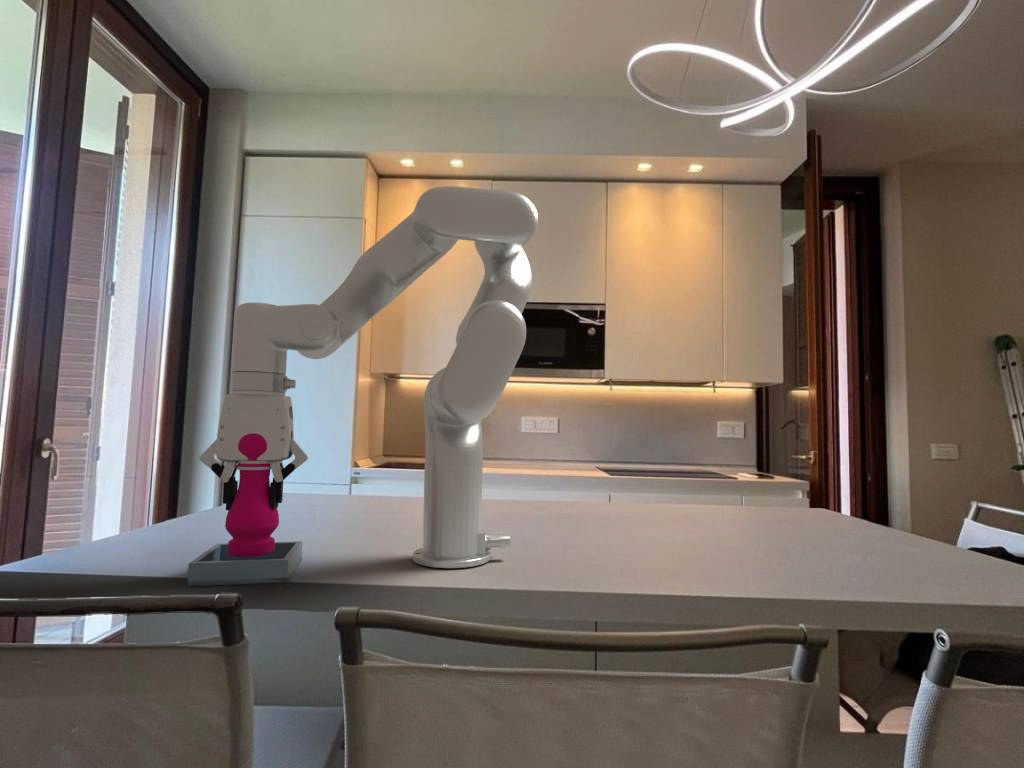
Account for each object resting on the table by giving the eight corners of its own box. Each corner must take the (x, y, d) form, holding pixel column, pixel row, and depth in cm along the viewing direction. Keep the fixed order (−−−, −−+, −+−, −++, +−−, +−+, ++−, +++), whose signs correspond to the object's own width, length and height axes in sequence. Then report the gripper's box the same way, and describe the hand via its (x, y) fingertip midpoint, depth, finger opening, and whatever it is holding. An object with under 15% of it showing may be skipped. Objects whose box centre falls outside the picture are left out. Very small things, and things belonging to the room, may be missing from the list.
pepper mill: (286, 547, 86) (292, 416, 88) (261, 558, 79) (267, 416, 80) (242, 546, 87) (248, 416, 88) (212, 556, 80) (220, 415, 81)
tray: (301, 560, 90) (302, 541, 90) (287, 582, 78) (288, 559, 78) (216, 563, 88) (217, 543, 88) (187, 586, 75) (188, 563, 76)
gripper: (321, 389, 90) (316, 504, 89) (204, 386, 87) (197, 505, 85) (314, 386, 83) (309, 511, 82) (187, 382, 79) (179, 513, 78)
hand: (252, 507), depth 83 cm, fingers closed on pepper mill, 5 cm apart
